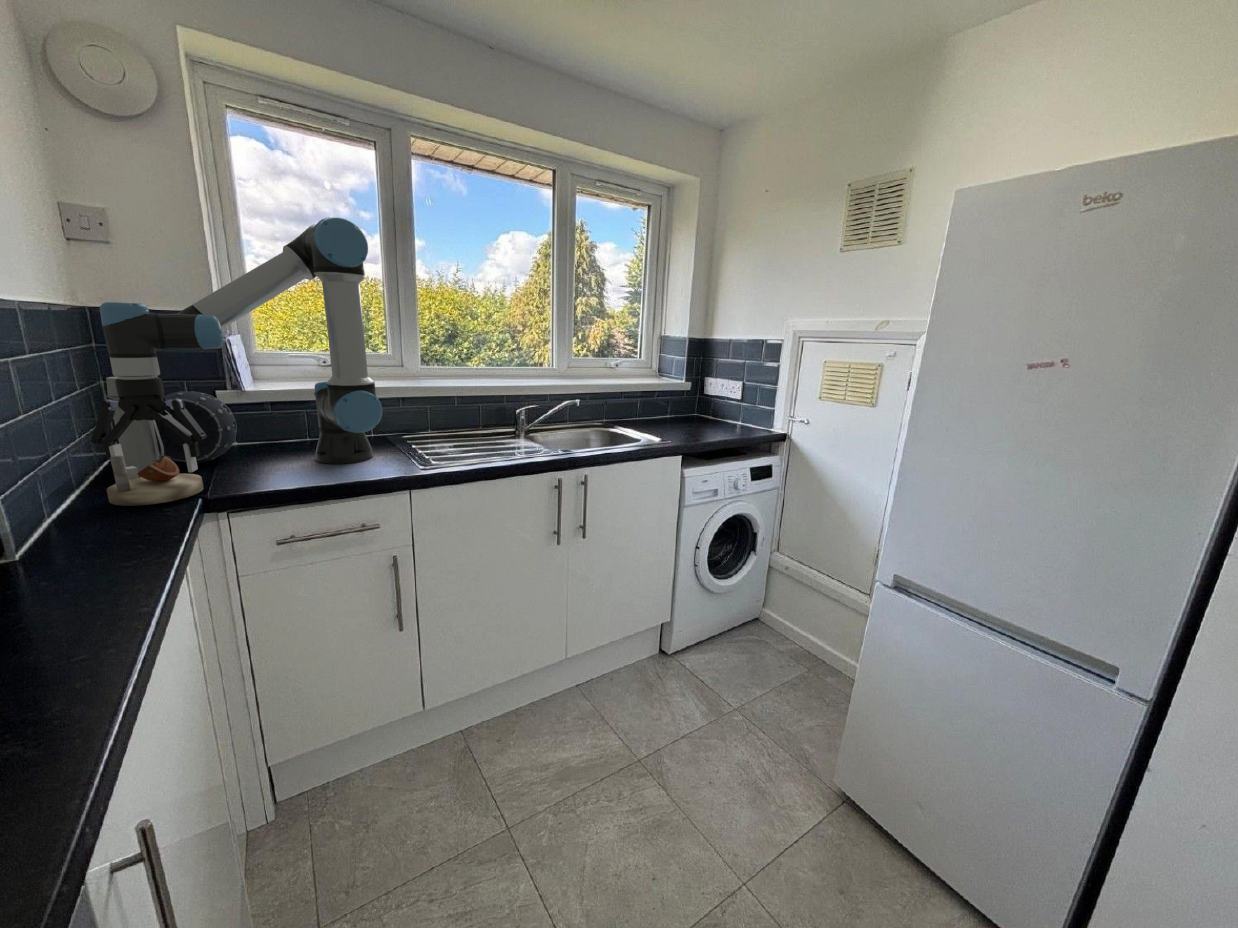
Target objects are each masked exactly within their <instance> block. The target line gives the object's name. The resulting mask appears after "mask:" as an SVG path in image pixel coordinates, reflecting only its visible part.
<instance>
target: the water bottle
mask: <svg viewBox="0 0 1238 928" xmlns="http://www.w3.org/2000/svg"><path fill="white" fill-rule="evenodd" d="M116 379H118V377H116V376H109V377H106V388H107V389H106V391H107V395H106V396H107V398H109V399H112V400H114V401H119V396H118V394H117V389H116V385H115V380H116ZM124 413H125V412H124V411H123V410H122V409H121V408H120V407H118V409H117V410H115V414H114V417H113V421H114V426H115V425H116V424H117V423H118V422H119V420H120V418H121V416H122V415H123V414H124ZM153 424H154V425H153ZM154 427H155V429H154ZM155 431H156V434H157V437H158V440H159V443H160V446H161V454H160V453H159V449H158V444H157V439H156V434H155ZM117 441H118V444H121V448H122V452H123V457H124V461H125V465H126V467H129V466H134V467H137V470H138V473H139V472H140V471H141V470H143V469H144V468H145V467H147V466H148V465H150V464H152V463H154V462H156V460H159V459H161V458H163V457H165V456H164V446H163V443H162V440H161V437H160V434H159V431H158V428H157V425H156V422H155V420H140V421H136V420H134V421H132V422H131V424H130V425H129V426H128V427H127V429H126V430H125V431H124V433H123V434H122V435H121V436H120V438H119V439H118V440H117Z"/></svg>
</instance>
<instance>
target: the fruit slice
mask: <svg viewBox="0 0 1238 928" xmlns="http://www.w3.org/2000/svg"><path fill="white" fill-rule="evenodd" d="M137 474H138V475H139V476H141V477H142V478H144V479H147V480H152V481H167V480H170V479H172V478H174V477H176V476H177V475H178V474H180V468H179V466H178V465H177V464H176V462H175V461H172V460H171V459H170V458H168V457H167V456H162V457H160V459H159V460H156V462H154V463H152V464H150V465H148V466H147V467H145V468H144V469H143V470H141V471H140V472H139V473H137Z"/></svg>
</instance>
